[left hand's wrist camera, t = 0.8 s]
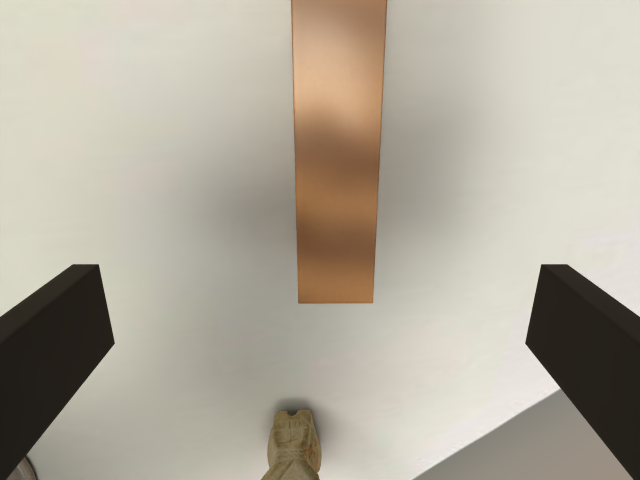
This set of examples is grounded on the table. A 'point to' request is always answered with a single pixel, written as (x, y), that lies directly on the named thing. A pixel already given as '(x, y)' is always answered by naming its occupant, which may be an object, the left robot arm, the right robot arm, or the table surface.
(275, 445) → the sculpture
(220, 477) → the table surface
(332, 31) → the bar
